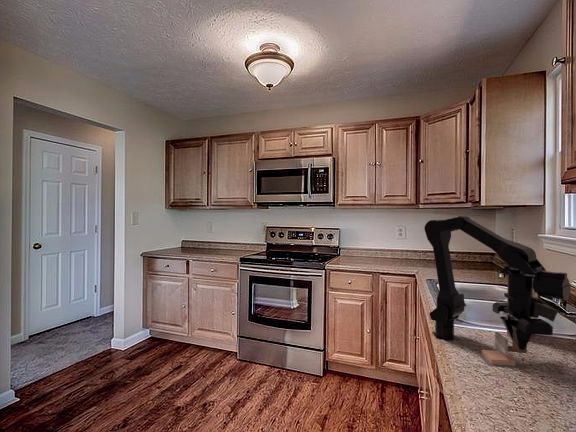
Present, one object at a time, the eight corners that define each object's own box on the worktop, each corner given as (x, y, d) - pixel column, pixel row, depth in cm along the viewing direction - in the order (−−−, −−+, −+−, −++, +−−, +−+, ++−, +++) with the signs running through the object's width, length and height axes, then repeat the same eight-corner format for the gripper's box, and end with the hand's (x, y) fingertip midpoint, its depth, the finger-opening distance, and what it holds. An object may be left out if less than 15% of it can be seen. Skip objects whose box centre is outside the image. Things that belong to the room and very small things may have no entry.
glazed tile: (504, 355, 93) (481, 354, 94) (504, 350, 93) (481, 349, 94) (515, 365, 87) (491, 364, 88) (515, 360, 87) (491, 359, 88)
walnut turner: (518, 346, 92) (518, 329, 92) (530, 355, 87) (530, 337, 87) (495, 345, 93) (495, 328, 93) (505, 354, 88) (505, 336, 88)
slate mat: (476, 354, 95) (476, 352, 95) (508, 356, 94) (508, 354, 94) (488, 368, 87) (488, 365, 87) (524, 370, 86) (524, 368, 86)
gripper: (577, 302, 79) (576, 365, 79) (531, 284, 97) (531, 335, 98) (527, 301, 80) (526, 362, 81) (491, 283, 99) (491, 333, 99)
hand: (519, 347), depth 90 cm, fingers closed on walnut turner, 2 cm apart
